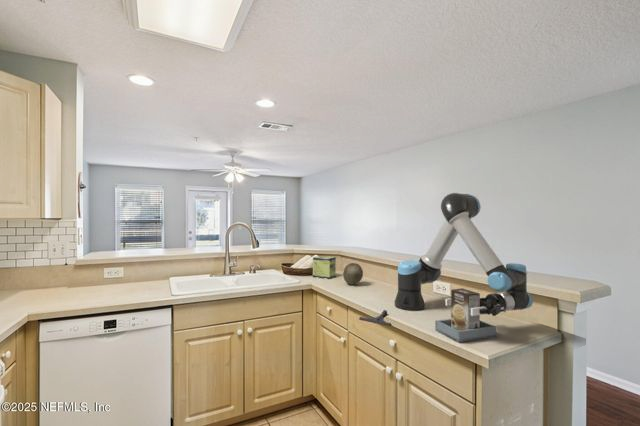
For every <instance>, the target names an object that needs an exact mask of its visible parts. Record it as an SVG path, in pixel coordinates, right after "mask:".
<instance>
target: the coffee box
mask: <svg viewBox="0 0 640 426" xmlns="http://www.w3.org/2000/svg"><path fill="white" fill-rule="evenodd" d="M450 291H451V292H450V293H451V296H450V297H451V305H450V307H451V308H450V309H451V311H450V315H451V316H450V319H451V327H452V328H454V329H456V330H458V331H461V330H468V329H475V328H480V321H481V315H475V316H472V315H471V308H475V307H480V298H481V297H480V295H481V294H480V293H479V292H477V291H473V290H469V289H466V288H464V287H463V288H453V289H451V290H450Z"/></svg>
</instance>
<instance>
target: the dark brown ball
mask: <svg viewBox="0 0 640 426" xmlns="http://www.w3.org/2000/svg"><path fill="white" fill-rule="evenodd" d="M342 274H343V276H342V277H343V278H344V282H345V284H347V285H350V286H353V285H357V284H359V283H360V282H361V280H362V279H363V276H364V271H363V268H362V267H361V265H360V264H358V263H354V262H350V263H348V264H347V265H346V266H345V267H344V269H343V272H342Z"/></svg>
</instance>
